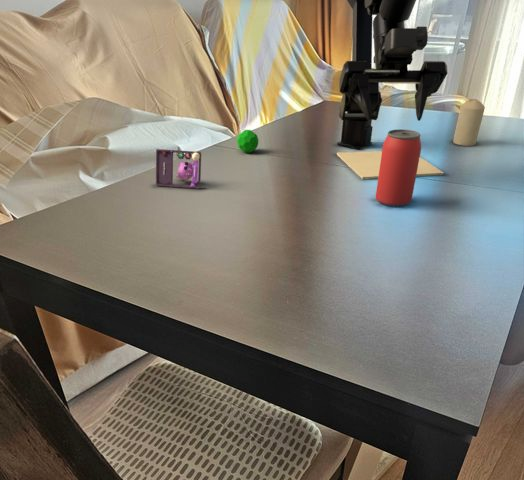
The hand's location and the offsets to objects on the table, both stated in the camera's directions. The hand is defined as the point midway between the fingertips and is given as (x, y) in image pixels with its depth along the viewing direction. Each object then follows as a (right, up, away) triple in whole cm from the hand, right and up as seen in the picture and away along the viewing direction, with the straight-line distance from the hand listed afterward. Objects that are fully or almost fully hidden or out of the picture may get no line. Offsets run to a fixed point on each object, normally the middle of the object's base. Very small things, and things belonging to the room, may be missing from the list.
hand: (394, 119), depth 92 cm
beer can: (0, -15, +2) cm, 15 cm away
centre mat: (+4, -1, +21) cm, 21 cm away
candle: (+27, +10, +36) cm, 46 cm away
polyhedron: (-28, +5, +28) cm, 40 cm away
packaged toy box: (-40, -9, +9) cm, 42 cm away
